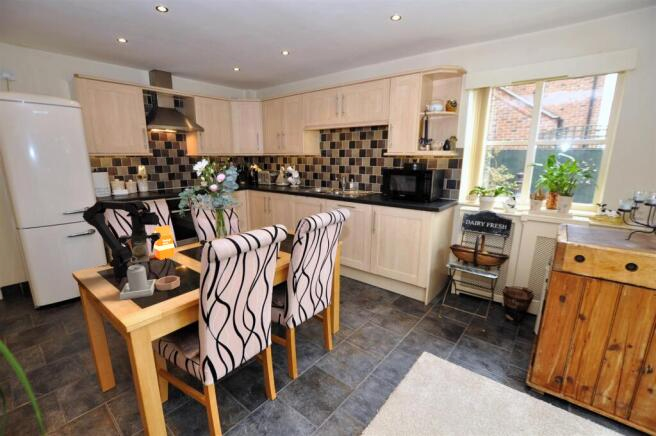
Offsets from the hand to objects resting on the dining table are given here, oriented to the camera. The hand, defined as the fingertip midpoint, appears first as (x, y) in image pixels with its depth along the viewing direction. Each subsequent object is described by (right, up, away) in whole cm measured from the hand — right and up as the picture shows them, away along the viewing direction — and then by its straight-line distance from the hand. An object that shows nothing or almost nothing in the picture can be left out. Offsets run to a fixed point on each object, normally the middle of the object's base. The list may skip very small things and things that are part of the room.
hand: (142, 253), depth 162 cm
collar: (+19, -15, -9) cm, 26 cm away
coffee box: (-17, -8, +26) cm, 32 cm away
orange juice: (-6, -6, +33) cm, 34 cm away
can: (+8, -16, -16) cm, 24 cm away
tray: (+8, -17, -16) cm, 25 cm away
